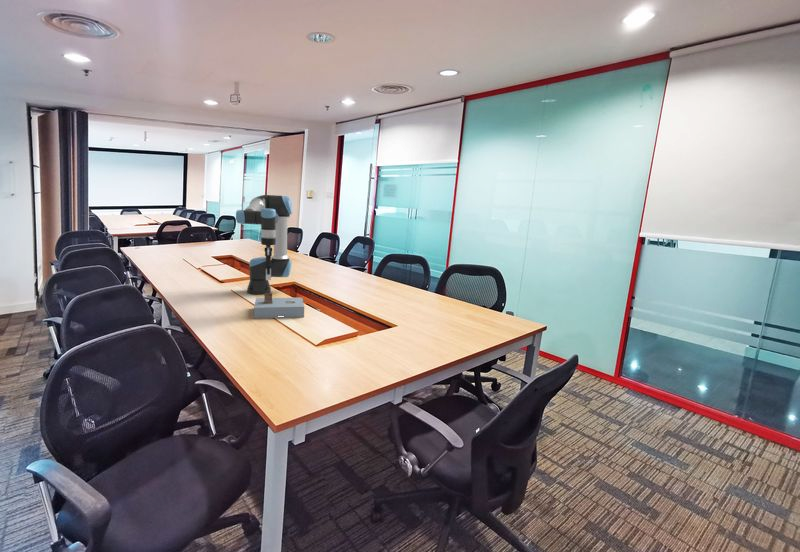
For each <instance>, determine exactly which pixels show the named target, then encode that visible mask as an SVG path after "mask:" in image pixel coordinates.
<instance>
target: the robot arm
mask: <svg viewBox="0 0 800 552" xmlns="http://www.w3.org/2000/svg"><path fill="white" fill-rule="evenodd" d="M291 200H292V199H291V198H290V196H286V195H277V194H275V195H273V194H272V195H271V194H262V195H259V196H256V197H254V198H253V199H251V200H250V202H249V205H248V206H247V207H246V208H245V209H237V211H235V219H236V223H237V224H242V225H260V227H261V230H260V231H259V233H260V236H261V238H260V244H261V245H262V246H265V247H264V256H261V257H253V258H251V259H250V260H249V265H248V267H249V283H248V284H247V288H246V292H247V293H248V294H252V295H264V294H265V293H272V287H271V285H270V282H269V281H272V278H289V277H290V275H291V269H292V262H293V261H292V260H291V259H290V256H289V255H288V219H289V218H290V216H291V215H292V214H293V205H292V201H291ZM271 246H273V248H272V247H271Z"/></svg>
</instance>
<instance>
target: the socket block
mask: <svg viewBox="0 0 800 552" xmlns="http://www.w3.org/2000/svg"><path fill="white" fill-rule="evenodd" d="M287 300H294V303H287ZM278 316H284V317H289V318H290V319H291V318H304V317H305V305H304V298H303V297H302V296H301V297H272V304H265V303H264V297H256V298H255V302H254V307H253V319H276V318H275V317H278ZM289 318H288V319H289Z"/></svg>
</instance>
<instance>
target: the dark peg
mask: <svg viewBox="0 0 800 552" xmlns="http://www.w3.org/2000/svg"><path fill="white" fill-rule="evenodd" d="M263 295H264V297H263V298H264V303H265V304H272V298H273V292H270V293H265V294H263Z"/></svg>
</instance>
